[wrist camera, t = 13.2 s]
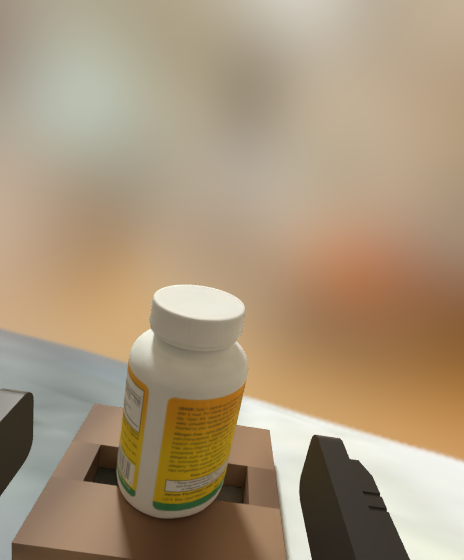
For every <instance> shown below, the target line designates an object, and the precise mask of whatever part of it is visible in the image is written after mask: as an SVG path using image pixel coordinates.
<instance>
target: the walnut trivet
mask: <svg viewBox="0 0 464 560" xmlns="http://www.w3.org/2000/svg"><path fill="white" fill-rule="evenodd" d="M122 417H123V408H121V407H114V406H107V405H101V404H94V405H93V407H92V409H91V410H90V412H89V414H88V415H87V417H86V419H85V420H84V422H83V424H82V426H81V427H80V429H79V431H78V432H77V434H76V436H75V437H74V439H73V441H72V442H71V444H70V446H69V447H68V449H67V451H66V452H65V454H64V456H63V457H62V459H61V461H60V463H59V464H58V466H57V468H56V469H55V471H54V473H53V474H52V476H51V478H50V479H49V481H48V483H47V484H46V486H45V488H44V489H43V491H42V493H41V494H40V496H39V498H38V500H37V501H36V503H35V505H34V506H33V508H32V510H31V511H30V513H29V515H28V516H27V518H26V520H25V521H24V523H23V525H22V526H21V528H20V530H19V531H18V533H17V535H16V537H15V538H14V540H13V542H12V560H286V554H285V546H284V538H283V531H282V523H281V515H280V508H279V500H278V492H277V484H276V477H275V469H274V461H273V453H272V446H271V438H270V430H266V429H259V428H253V427H246V426H239V425H236V429H235V433H234V438H233V442H232V447H231V452H230V456H229V460H228V464H227V469H226V474H225V477H224V482H223V485H229V486H236V487H243V504H241V503H234V502H227V501H219V500H214V501H213V502H212V503H211V504H210V505H208V506H207V507H206V508H205V509H203V510H202V511H200V512H198V513H196V514H193V515H190V516H186V517H180V518H173V519H164V518H157V517H153V516H150V515H147V514H145V513H143V512H141V511H139V510H137V509H136V508H135V507H133V506H132V505H131V504H130V503H129V502H128V501H127V500H126V499H125V497H124V496H123V494H122V492H121V490H120V488H119V486H114V485H107V484H100V483H93V482H92V481H93V479H94V476H95V474H96V472H97V470H98V468H99V467H104V468H111V469H117V459H118V451H119V441H120V434H121V425H122Z"/></svg>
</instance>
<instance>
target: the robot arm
mask: <svg viewBox="0 0 464 560" xmlns="http://www.w3.org/2000/svg"><path fill="white" fill-rule="evenodd" d="M33 402H34V400H33V395H32V393H30V392H24V391H17V390H10V389H1V390H0V496H1V494H2V493H3V492H4V490H5V489H6V487H7V486H8V484H9V483H10V482H11V480H12V479H13V477H14V476H15V475H16V473H17V472H18V470H19V469H20V468H21V466H22V465H23V463H24V462H25V460H26V458H27V456H28V454H29V452H30V449H31V445H32V441H33ZM299 493H300V503H301V508H302V513H303V518H304V522H305V527H306V532H307V537H308V542H309V547H310V552H311V557H312V560H410V559H409V557H408V554H407V552H406V550H405V548H404V545H403V543H402V541H401V539H400V537H399V534H398V532H397V530H396V528H395V526H394V523H393V521H392V519H391V517H390V514H389V512H387V508H386V506H385V503H384V501H383V499H382V497H380V492H379V490H378V488H377V486H376V483H375V481H374V479H373V477H372V475H371V474H370V473H369V472H368V471H367V470H366V468H365V467H364V466H363V465H362V464H361V463H360V462H359V460H352V459H349V456H348V454H347V451H346V449H345V446H344V444H343V442H342V440H341V439H340V438H334V437H327V436H320V435H314V436H313V437H312V439H311V442H310V445H309V449H308V452H307V456H306V460H305V463H304V467H303V470H302V474H301V478H300V488H299Z"/></svg>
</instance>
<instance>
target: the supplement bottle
mask: <svg viewBox="0 0 464 560" xmlns="http://www.w3.org/2000/svg"><path fill="white" fill-rule="evenodd" d="M244 317H245V307H244V304H243V303H242V302H241V301H240V300H239V299H238V298H236V297H235V296H233V295H231V294H229V293H226V292H224V291H221V290H218V289H215V288H210V287H205V286H198V285H173V286H168V287H164V288H161V289H159V290H158V291H157V292H156V293H155V294H154V296H153V302H152V309H151V315H150V324H151V329H149V330H147V331H146V332H144V333H143V334H142V335H141V336H140V337H139V338H138V339H137V340H136V341H135V343H134V344H133V346H132V349H131V351H130V357H129V362H128V370H127V379H126V388H125V397H124V408H123V417H122V425H121V434H120V441H119V451H118V459H117V481H118V485H119V488H120V490H121V492H122V494H123V496H124V497H125V499H126V500H127V501H128V502H129V503H130V504H131V505H132V506H133V507H135V508H136V509H137V510H139V511H141V512H143V513H145V514H147V515H150V516H153V517H157V518H164V519H173V518H180V517H186V516H190V515H193V514H196V513H198V512H200V511H202V510H203V509H205V508H206V507H207V506H208V505H210V504H211V503H212V502H213V501H214V499H215V498H216V497H217V495H218V494H219V492H220V490H221V488H222V485H223V482H224V477H225V474H226V469H227V464H228V460H229V456H230V452H231V447H232V442H233V438H234V433H235V429H236V424H237V420H238V415H239V410H240V406H241V401H242V397H243V392H244V388H245V383H246V379H247V374H248V361H247V357H246V354H245V352H244V350H243V349H242V347H241V346H240V344H238V343H237V340H238V338H239V337H240V336H241V334H242V328H243V322H244Z"/></svg>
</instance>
